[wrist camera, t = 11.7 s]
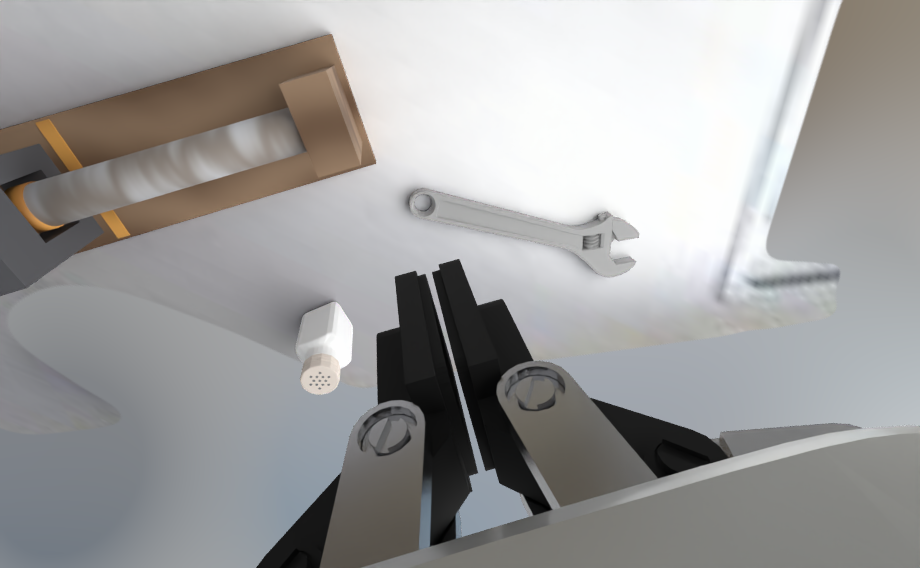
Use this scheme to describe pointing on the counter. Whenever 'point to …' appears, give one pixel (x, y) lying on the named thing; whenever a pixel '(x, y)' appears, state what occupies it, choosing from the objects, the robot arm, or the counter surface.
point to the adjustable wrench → (535, 229)
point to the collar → (16, 242)
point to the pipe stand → (195, 144)
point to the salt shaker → (324, 347)
